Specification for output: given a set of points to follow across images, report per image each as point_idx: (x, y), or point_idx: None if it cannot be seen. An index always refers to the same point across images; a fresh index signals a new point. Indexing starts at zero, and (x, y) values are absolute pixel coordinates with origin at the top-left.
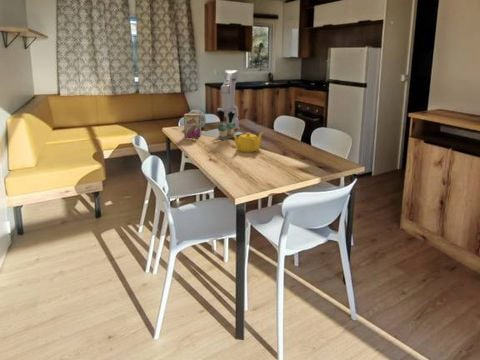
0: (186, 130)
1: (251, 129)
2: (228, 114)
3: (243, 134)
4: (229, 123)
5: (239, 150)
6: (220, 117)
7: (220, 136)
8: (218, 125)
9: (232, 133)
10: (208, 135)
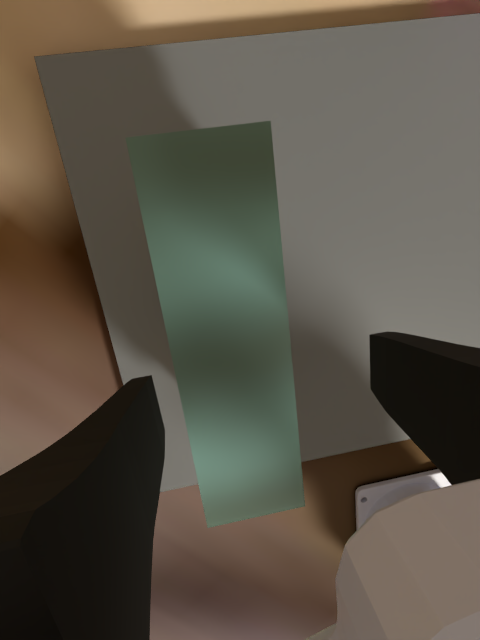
0: None
1: (269, 630)
2: (12, 503)
3: None
4: (209, 410)
5: None
6: (450, 352)
7: None
8: (254, 125)
9: None
10: (364, 79)
